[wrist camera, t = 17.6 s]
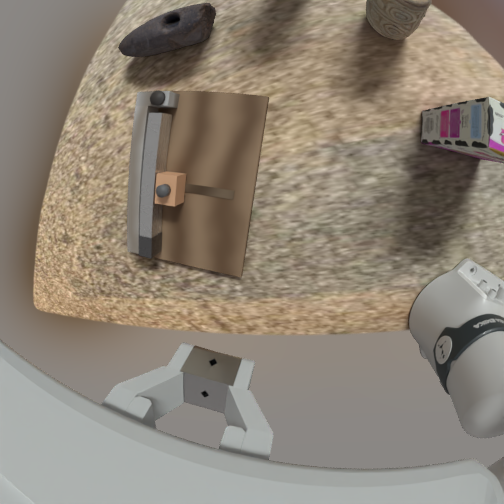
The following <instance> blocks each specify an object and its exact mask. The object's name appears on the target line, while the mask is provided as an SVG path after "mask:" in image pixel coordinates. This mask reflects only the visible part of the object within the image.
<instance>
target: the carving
mask: <svg viewBox="0 0 504 504" xmlns="http://www.w3.org/2000/svg"><path fill="white" fill-rule="evenodd" d="M430 5H431V0H367V2H366V16H367V19H368V21H369V23H370V24H371V26H372V27H373V28H374V29H375V30H376V31H377V32H378V33H379V34H381V35H383V36H385V37H387V38H390V39H395V40H399V39H404V38H406V37H408V36H410V35H411V34H412V33H413V32H414V31H415V30H416V29H417V28H418V26H419V24H420V22H421V20H422V19H423V17H425V14H426V11H427V9H428V7H429V6H430Z"/></svg>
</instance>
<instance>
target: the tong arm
mask: <svg viewBox="0 0 504 504" xmlns="http://www.w3.org/2000/svg"><path fill="white" fill-rule="evenodd" d="M171 122H172V115H171V114H165V113H149V116H148V124H147V132H146V140H145V150H144V160H143V172H142V186H141V204H140V235H139V255H140V256H144V257H147V258H153V257H154V256H155V255H157V254H158V253H159V252H161V250H162V232H161V228H162V211H163V205H162V204H156V203H155V189H156V175H157V173H162V172H166V163H167V153H168V145H169V136H170V129H171Z"/></svg>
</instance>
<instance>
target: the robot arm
mask: <svg viewBox="0 0 504 504" xmlns="http://www.w3.org/2000/svg"><path fill="white" fill-rule="evenodd" d="M471 268H472V270H471ZM470 270H471V271H470ZM409 327H410V331H411V334H412V336H413V337H414V339H415V340H416V341H417V342H418V344H419V348H420V353H421V355H422V357H423V358H425V359H428V361H429V362H430V364H431V366H432V367H433V369H434V371H435V372H436V374H437V376H438V377H439V379H440V383H441V385H442V386H443V388H444V390H445V391H446V393H448V394H449V395H450V397H451V399H452V402H453V404H454V407H455V409H456V412H457V415H458V418H459V421H460V423H461V426H462V428H463V429H464V431H465V432H466V433H467V434H469V435H470V436H473V437H476V438H492V437H496V436H500V435H503V434H504V281H503V280H502V279H500V278H499V277H497V276H496V275H494V274H493V273H491V272H490V271H488V270H487V269H485V268H483V267H482V266H480V265H479V264H477V263H475V262H474V261H472V260H471V259H468V258H466V259H464V260H463V261H461V262H460V263H459V264H458V265H457V266H456V267H455V268H454V269H453V270H452V271H450V272H448V273H446V274H443V275H441V276H439V277H438V278H436V279H435V280H433V281H432V282H431V283H429V284H428V285H427V286H426V287H425V288H424V289H423V291H422V292H421V293H420V294H419V296H418V297H417V299H416V301H415V303H414V305H413V307H412V310H411V313H410V318H409ZM254 365H255V361H253V360H249V359H244V358H243V359H242V358H239V357H235V356H230V355H227V354H223V353H218V352H215V351H211V350H208V349H205V348H201V347H198V346H194V345H190V344H188V343H185V342H183V343H182V344H181V345H180V347H179V348H178V350H177V351H176V353H175V354H174V356H173V358H172V359H171V361H170V362H169V364H168V365H167V367H165V366H162V367H159V368H157V369H155V370H152V371H150V372H147V373H145V374H142V375H140V376H137V377H135V378H132V379H130V380H127V381H125V382H122V383H119V384H117V385H115V387H114V388H113V389H112V391H111V392H110V393H109V395H108V396H107V397H106V399H105V400H104V401H103V403H102V404H99V403H97V402H95V401H93V400H91V399H89V398H87V397H85V396H84V395H82V394H80V393H78V392H77V391H75V390H73V389H71V388H70V387H68V386H66V385H65V384H63V383H61V382H60V381H58V380H56V379H55V378H53V377H51V376H50V375H49V374H47V373H45V372H44V371H42V370H41V369H39V368H38V367H37V366H35V365H34V364H32V363H31V362H29V361H28V360H27V359H25V358H24V357H22V356H21V355H19V354H18V353H17V352H16V351H14V350H13V349H12V348H11V347H9V346H8V345H7V344H6V343H4V342H3V341H2V340H1V339H0V504H504V457H502V458H501V459H500V460H498V461H497V462H495V463H494V464H492V465H491V466H489V467H488V468H486V467H485V466H483V465H482V464H481V463H480V462H478V461H477V460H475V459H471V458H469V459H463V460H458V461H453V462H447V463H441V464H433V465H426V466H416V467H404V468H389V469H388V468H387V469H345V468H327V467H314V466H305V465H297V464H289V463H282V462H275V461H270V460H269V456H270V451H271V446H272V440H273V435H274V434H273V432H272V430H271V428H270V426H269V425H268V423H267V421H266V419H265V417H264V415H263V413H262V411H261V409H260V407H259V405H258V403H257V402H256V400H255V398H254V396H253V394H252V392H251V391H250V390H249V386H250V382H251V378H252V373H253V369H254ZM184 402H186V403H190V404H194V405H197V406H201V407H205V408H207V409H211V410H214V411H217V412H221V413H224V415H225V418H226V421H227V424H228V427H226V429H225V432H224V435H223V438H222V441H221V444H220V446H219V449H215V448H212V447H208V446H205V445H201V444H198V443H195V442H191V441H188V440H185V439H182V438H179V437H176V436H173V435H171V434H167V433H165V432H162V431H160V430H157V429H156V425H155V420H157V419H159V418H160V417H162V416H164V415H165V414H167V413H168V412H170V411H172V410H173V409H175V408H176V407H178V406H180V405H181V404H183V403H184Z"/></svg>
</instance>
